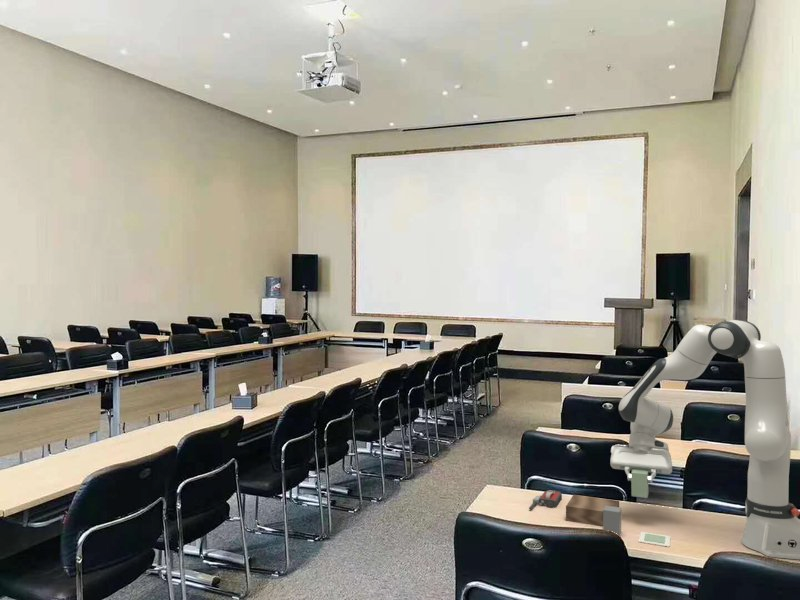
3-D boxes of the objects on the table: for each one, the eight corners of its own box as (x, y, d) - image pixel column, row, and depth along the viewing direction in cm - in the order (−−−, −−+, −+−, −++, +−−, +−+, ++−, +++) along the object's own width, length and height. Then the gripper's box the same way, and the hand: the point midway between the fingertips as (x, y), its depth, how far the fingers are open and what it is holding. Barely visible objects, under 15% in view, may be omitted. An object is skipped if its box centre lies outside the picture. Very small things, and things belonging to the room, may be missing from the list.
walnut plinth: (619, 514, 224) (619, 500, 224) (614, 527, 212) (614, 513, 212) (573, 508, 231) (573, 494, 231) (565, 520, 219) (565, 506, 219)
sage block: (648, 493, 218) (648, 470, 218) (647, 497, 213) (646, 474, 213) (633, 492, 220) (632, 469, 220) (631, 496, 215) (631, 472, 215)
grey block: (621, 531, 208) (621, 507, 208) (619, 537, 204) (619, 512, 204) (605, 529, 211) (605, 505, 210) (603, 534, 206) (603, 509, 206)
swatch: (670, 537, 204) (670, 535, 204) (669, 547, 196) (669, 545, 195) (641, 532, 208) (641, 531, 208) (638, 542, 199) (638, 540, 199)
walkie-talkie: (540, 496, 247) (527, 511, 229) (540, 484, 246) (527, 499, 229) (563, 499, 243) (551, 515, 225) (563, 487, 243) (551, 503, 225)
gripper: (610, 439, 227) (607, 472, 218) (672, 444, 218) (671, 479, 209) (612, 448, 231) (609, 482, 222) (673, 454, 222) (672, 489, 213)
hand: (639, 481), depth 216 cm, fingers closed on sage block, 5 cm apart
